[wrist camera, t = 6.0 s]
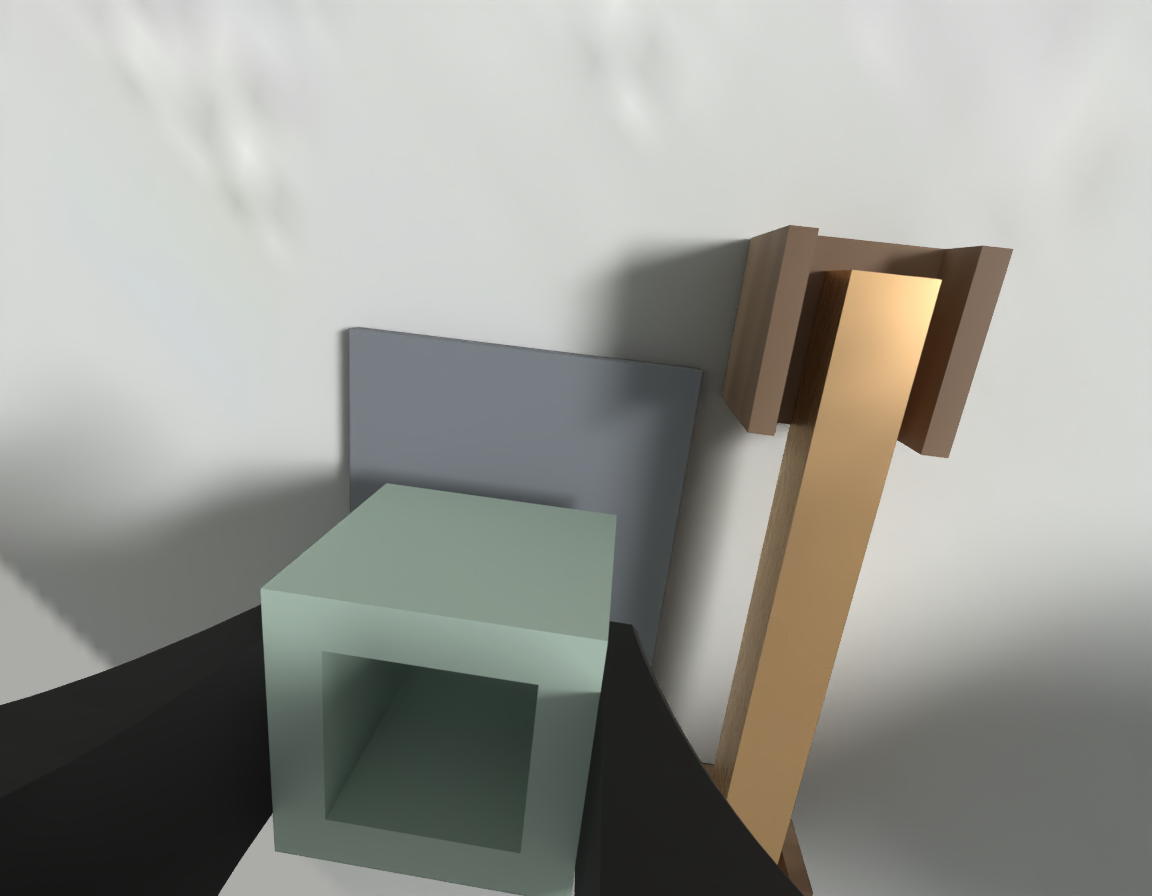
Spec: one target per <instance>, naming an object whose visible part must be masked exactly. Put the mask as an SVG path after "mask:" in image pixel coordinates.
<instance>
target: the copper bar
mask: <svg viewBox="0 0 1152 896" xmlns="http://www.w3.org/2000/svg"><path fill="white" fill-rule="evenodd" d="M941 281H942V280H940V279H931V278H922V277H913V276H904V275H895V274H886V273H877V272H868V271H859V270H832V271H824V275H823V280H822V284H821V289H820V293H819V298H818V302H817V307H816V311H815V315H814V320H813V324H812V329H811V333H810V338H809V342H808V347H807V351H806V356H805V360H804V365H803V369H802V374H801V378H800V383H799V387H798V392H797V396H796V400H795V405H794V409H793V414H792V418H791V423H790V427H789V432H788V436H787V441H786V445H785V450H784V454H783V459H782V463H781V468H780V472H779V477H778V481H777V485H776V490H775V494H774V499H773V503H772V508H771V512H770V517H769V521H768V526H767V530H766V535H765V539H764V544H763V548H762V553H761V557H760V562H759V566H758V571H757V575H756V579H755V584H754V588H753V593H752V597H751V602H750V606H749V611H748V615H747V620H746V624H745V629H744V633H743V638H742V642H741V647H740V651H739V656H738V660H737V664H736V669H735V673H734V678H733V682H732V687H731V691H730V696H729V700H728V705H727V709H726V714H725V718H724V723H723V727H722V732H721V736H720V741H719V745H718V749H717V754H716V758H715V763H714V767H713V772H712V776H711V778H712V780H713V781H714V783H715V784H716V786H717V787H718V788H719V790H720V791H721V793H722V794H723V796H724V797H725V798H726V800H727V801H728V803H729V804H730V805H731V807H732V808H733V810H734V811H735V812H736V814H737V815H738V816H739V818H740V819H741V820H742V822H743V823H744V824H745V826H746V827H747V828H748V829H749V831H750V832H751V833H752V835H753V836H754V837H755V839H756V840H757V841H758V843H759V844H760V845H761V846H762V847H763V848H764V850H765V851H766V852H767V853H768V854H769V856H770V857H771V858H772V859H773V860H774V861H775V863H776V864H777V865H778V861H779V858H780V854H781V851H782V847H783V843H784V840H785V836H786V833H787V829H788V826H789V822H790V819H791V815H792V811H793V808H794V804H795V801H796V797H797V794H798V790H799V786H800V783H801V779H802V776H803V772H804V769H805V765H806V762H807V758H808V754H809V751H810V747H811V744H812V740H813V737H814V733H815V730H816V726H817V722H818V719H819V715H820V712H821V708H822V705H823V701H824V698H825V694H826V690H827V687H828V683H829V680H830V676H831V673H832V669H833V666H834V662H835V658H836V655H837V651H838V648H839V644H840V641H841V637H842V633H843V630H844V626H845V623H846V619H847V616H848V612H849V609H850V605H851V601H852V598H853V594H854V591H855V587H856V584H857V580H858V577H859V573H860V569H861V566H862V562H863V559H864V555H865V552H866V548H867V545H868V541H869V537H870V534H871V530H872V527H873V523H874V520H875V516H876V513H877V509H878V505H879V502H880V498H881V495H882V491H883V488H884V484H885V480H886V477H887V473H888V470H889V466H890V463H891V459H892V456H893V452H894V448H895V445H896V441H897V438H898V434H899V431H900V427H901V424H902V420H903V416H904V413H905V409H906V406H907V402H908V399H909V395H910V392H911V388H912V384H913V381H914V377H915V374H916V370H917V367H918V363H919V360H920V356H921V352H922V349H923V345H924V342H925V338H926V335H927V331H928V327H929V324H930V320H931V317H932V313H933V310H934V306H935V303H936V299H937V295H938V292H939V288H940V285H941Z"/></svg>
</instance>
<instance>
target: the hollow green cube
mask: <svg viewBox="0 0 1152 896" xmlns="http://www.w3.org/2000/svg"><path fill="white" fill-rule="evenodd" d="M616 518H617V515H612V514H605V513H598V512H591V511H584V510H576V509H569V508H562V507H555V506H547V505H540V504H533V503H526V502H519V501H511V500H504V499H497V498H490V497H482V496H475V495H468V494H461V493H453V492H446V491H439V490H432V489H425V488H417V487H410V486H403V485H396V484H388V483H386V484H385V485H384V486H383V487H381V488H380V489H379V490H378V491H377V492H375V493H374V494H373V495H372V496H371V497H369V498H368V499H367V500H366V501H365V502H363V503H362V504H361V505H360V506H359V507H357V508H356V509H355V510H354V511H353V512H351V513H350V514H349V515H348V516H347V517H345V518H344V519H343V520H342V521H341V522H339V523H338V524H337V525H336V526H335V527H333V528H332V529H331V530H330V531H329V532H327V533H326V534H325V535H324V536H323V537H321V538H320V539H319V540H318V541H317V542H316V543H314V544H313V545H312V546H311V547H310V548H308V549H307V550H306V551H305V552H304V553H302V554H301V555H300V556H299V557H298V558H296V559H295V560H294V561H293V562H292V563H290V564H289V565H288V566H287V567H286V568H284V569H283V570H282V571H281V572H280V573H278V574H277V575H276V576H275V577H274V578H272V579H271V580H270V581H269V582H268V583H266V584H265V585H264V586H263V587H262V588H260V592H261V610H262V628H263V645H264V662H265V680H266V698H267V716H268V734H269V752H270V770H271V788H272V806H273V825H274V842H275V851H277V852H283V853H288V854H294V855H300V856H305V857H311V858H316V859H322V860H327V861H333V862H339V863H344V864H350V865H355V866H361V867H367V868H372V869H378V870H383V871H389V872H394V873H400V874H406V875H411V876H417V877H422V878H428V879H434V880H439V881H445V882H450V883H456V884H462V885H467V886H473V887H478V888H484V889H489V890H495V891H501V892H506V893H512V894H517V895H523V896H571V892H572V885H573V878H574V871H575V863H576V856H577V850H578V843H579V836H580V829H581V822H582V815H583V808H584V801H585V794H586V788H587V781H588V774H589V767H590V760H591V753H592V746H593V739H594V733H595V726H596V719H597V712H598V705H599V698H600V692H601V686H602V679H603V672H604V665H605V658H606V651H607V645H608V634H609V619H610V605H611V590H612V576H613V561H614V547H615V532H616Z"/></svg>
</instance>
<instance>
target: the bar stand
mask: <svg viewBox="0 0 1152 896" xmlns="http://www.w3.org/2000/svg"><path fill="white" fill-rule="evenodd" d="M818 231H819V228H811V227H802V226H793V225H789V226H786V227H783V228H780V229H777V230H774V231H771V232H768V233H765V234H762V235H759V236H756V237H753V238H751V239H750V245H749V250H748V256H747V261H746V266H745V272H744V277H743V283H742V288H741V293H740V299H739V304H738V310H737V315H736V320H735V326H734V331H733V337H732V342H731V347H730V353H729V358H728V364H727V369H726V374H725V380H724V385H723V391H722V396H721V397H722V398H723V400H724V401H725V402H726V404H727V405H728V406H729V408H730V409H731V410H732V412H733V413H734V414H735V416H736V417H737V418H738V420H739V421H740V423H741V424H742V425H743V427H744V428H745V429H746V431H747V432H749V433H756V434H764V435H772V436H774V434H775V429H776V425H777V423H784V424H790V423H791V418H792V414H793V409H794V405H795V400H796V396H797V392H798V387H799V383H800V378H801V374H802V369H803V365H804V360H805V356H806V351H807V347H808V342H809V338H810V333H811V329H812V324H813V320H814V315H815V311H816V307H817V302H818V298H819V293H820V289H821V284H822V280H823V275H824V271H832V270H859V271H868V272H877V273H886V274H895V275H904V276H913V277H922V278H931V279H940V280H942V281H941V285H940V288H939V292H938V295H937V299H936V303H935V306H934V310H933V313H932V317H931V320H930V324H929V327H928V331H927V335H926V338H925V342H924V345H923V349H922V352H921V356H920V360H919V363H918V367H917V370H916V374H915V377H914V381H913V384H912V388H911V392H910V395H909V399H908V402H907V406H906V409H905V413H904V416H903V420H902V424H901V427H900V431H899V434H898V438H897V440H898V441H900V442H901V443H903V444H905V445H906V446H908V447H909V448H911V449H913V450H914V451H916V452H918V453H919V454H921V455H928V456H936V457H944V458H948V457H949V454H950V451H951V448H952V444H953V441H954V438H955V435H956V432H957V428H958V425H959V422H960V419H961V415H962V412H963V409H964V406H965V403H966V399H967V396H968V393H969V390H970V387H971V383H972V380H973V377H974V374H975V370H976V367H977V364H978V361H979V358H980V354H981V351H982V348H983V345H984V341H985V338H986V335H987V332H988V329H989V325H990V322H991V319H992V316H993V313H994V309H995V306H996V303H997V300H998V296H999V293H1000V290H1001V287H1002V284H1003V280H1004V277H1005V274H1006V271H1007V267H1008V264H1009V261H1010V258H1011V255H1012V251H1013V249H1008V248H998V247H989V246H976V247H965V248H954V249H938V248H929V247H919V246H910V245H901V244H891V243H882V242H873V241H864V240H854V239H845V238H836V237H826V236H817V235H818ZM703 766H704V767H705V769H706V771H707V772H708V774H709V775H710V777H711V776H712V772H713V767H714V765H708V764H703ZM778 866H779V867H780V868H781V870H782V871H783V872H784V873H785V874H786V875H787V877H788V878H789V879H790V880H791V881H792V882H793V884H794V885H795V886H796V887H797V888H798V889H799V891H800V892H801V893H802V894H803V895H804V896H812V895H813V892H812V888H811V885H810V881H809V878H808V875H807V871H806V868H805V864H804V861H803V857H802V854H801V851H800V847H799V844H798V840H797V837H796V833H795V830H794V827H793V823H792V820H791V819H790V822H789V826H788V829H787V833H786V836H785V840H784V843H783V847H782V851H781V854H780V858H779V861H778Z"/></svg>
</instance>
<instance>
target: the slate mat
mask: <svg viewBox="0 0 1152 896" xmlns="http://www.w3.org/2000/svg"><path fill="white" fill-rule="evenodd" d="M702 374H703V372H702V370H701V369H697V368H689V367H681V366H673V365H665V364H656V363H648V362H640V361H632V360H624V359H616V358H607V357H599V356H591V355H583V354H575V353H566V352H558V351H550V350H542V349H534V348H526V347H517V346H509V345H501V344H493V343H485V342H477V341H468V340H460V339H452V338H444V337H436V336H428V335H419V334H411V333H403V332H395V331H387V330H379V329H370V328H362V327H356V328H350V329H349V401H350V513H351V512H353V511H354V510H355V509H356V508H357V507H359V506H360V505H361V504H362V503H363V502H365V501H366V500H367V499H368V498H369V497H371V496H372V495H373V494H374V493H375V492H377V491H378V490H379V489H380V488H381V487H383V486H384V485H385V484H386V483H388V484H396V485H403V486H410V487H417V488H425V489H432V490H439V491H446V492H453V493H461V494H468V495H475V496H482V497H490V498H497V499H504V500H511V501H519V502H526V503H533V504H540V505H547V506H555V507H562V508H569V509H576V510H584V511H591V512H598V513H605V514H612V515H617V518H616V532H615V547H614V561H613V576H612V590H611V605H610V619H609V621H612V622H619V623H626V624H632V625H633V626H634V628H635V629H636V630H637V632H638V635H639V639H640V642H641V645H642V647H643V650H644V653H645V655H646V658H647V660H648V663H649V665H650V667H651V668H652V662H653V656H654V651H655V645H656V639H657V633H658V628H659V622H660V616H661V610H662V605H663V599H664V593H665V587H666V582H667V576H668V570H669V564H670V559H671V553H672V547H673V541H674V535H675V530H676V524H677V518H678V512H679V507H680V501H681V495H682V489H683V484H684V478H685V472H686V466H687V461H688V455H689V449H690V443H691V438H692V432H693V426H694V420H695V414H696V409H697V403H698V397H699V391H700V386H701V380H702Z"/></svg>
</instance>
